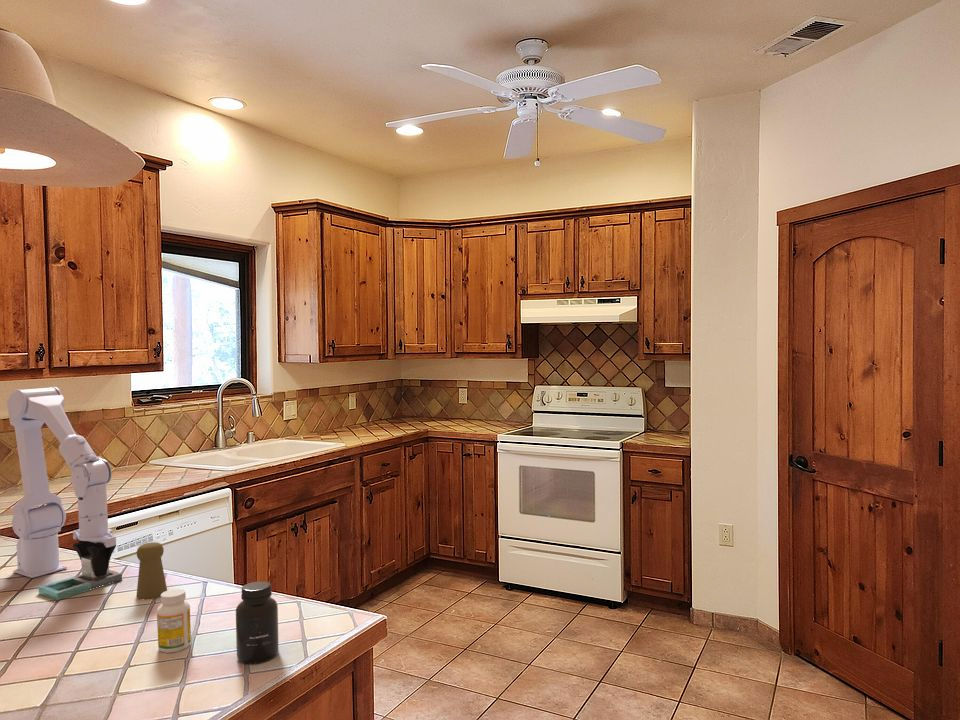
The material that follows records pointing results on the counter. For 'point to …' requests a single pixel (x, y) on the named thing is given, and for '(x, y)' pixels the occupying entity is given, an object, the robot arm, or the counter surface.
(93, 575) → the beige rectangular block
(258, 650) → the supplement bottle
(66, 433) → the robot arm
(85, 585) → the grey teal tray
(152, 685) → the counter surface
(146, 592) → the cork
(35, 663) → the counter surface
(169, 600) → the supplement bottle
